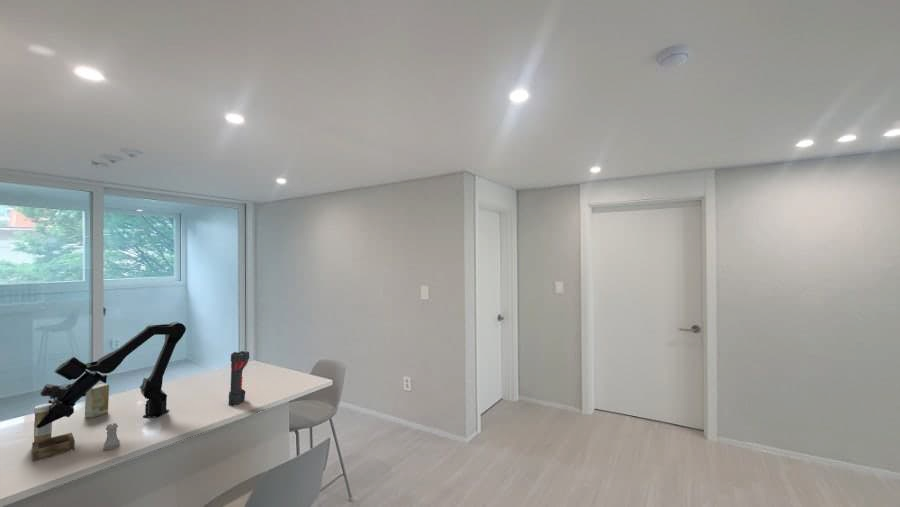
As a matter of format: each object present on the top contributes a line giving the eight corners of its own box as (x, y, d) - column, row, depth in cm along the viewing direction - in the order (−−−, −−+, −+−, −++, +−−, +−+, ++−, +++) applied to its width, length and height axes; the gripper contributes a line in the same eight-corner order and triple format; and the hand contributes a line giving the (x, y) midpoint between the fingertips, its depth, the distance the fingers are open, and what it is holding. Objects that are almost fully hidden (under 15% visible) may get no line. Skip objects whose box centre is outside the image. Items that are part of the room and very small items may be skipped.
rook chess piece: (110, 444, 131) (110, 422, 131) (123, 444, 131) (123, 421, 132) (99, 451, 127) (99, 427, 127) (113, 450, 127) (113, 427, 127)
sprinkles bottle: (34, 442, 132) (34, 405, 133) (52, 438, 136) (53, 401, 136) (32, 447, 129) (33, 408, 129) (51, 442, 132) (52, 405, 132)
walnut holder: (71, 441, 133) (71, 432, 133) (74, 450, 127) (74, 440, 127) (32, 451, 126) (32, 442, 126) (33, 461, 120) (33, 451, 120)
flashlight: (250, 397, 175) (250, 349, 176) (246, 403, 168) (247, 353, 168) (231, 399, 173) (232, 351, 173) (227, 406, 166) (228, 355, 166)
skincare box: (92, 418, 153) (92, 388, 153) (84, 417, 154) (84, 388, 154) (109, 412, 159) (109, 383, 159) (101, 411, 160) (101, 383, 160)
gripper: (58, 370, 142) (14, 407, 133) (61, 380, 130) (11, 422, 121) (86, 385, 148) (45, 422, 139) (91, 396, 135) (46, 437, 127)
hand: (37, 425), depth 131 cm, fingers closed on sprinkles bottle, 4 cm apart
